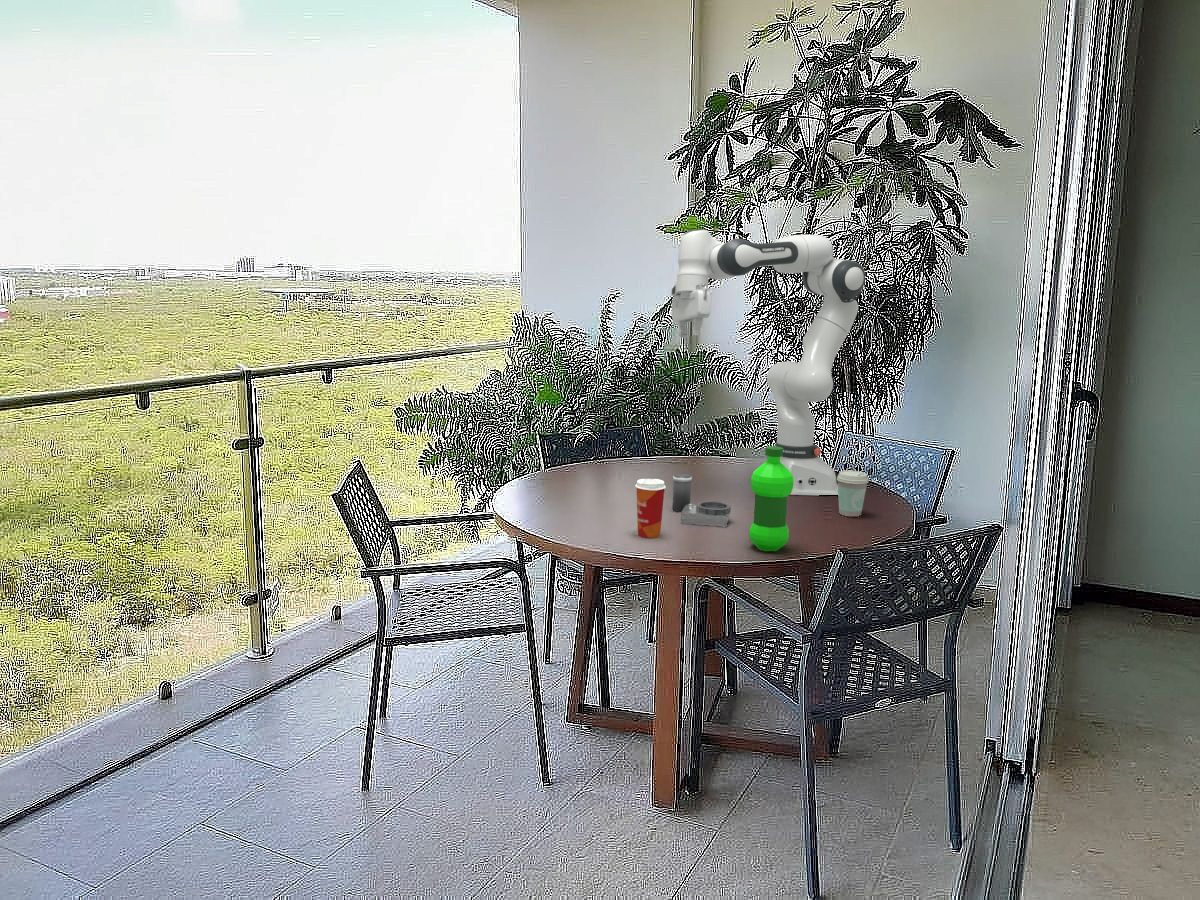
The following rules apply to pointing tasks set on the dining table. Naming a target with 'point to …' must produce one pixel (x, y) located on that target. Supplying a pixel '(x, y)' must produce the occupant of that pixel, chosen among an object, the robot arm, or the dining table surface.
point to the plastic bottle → (771, 502)
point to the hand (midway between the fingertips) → (689, 336)
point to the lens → (681, 491)
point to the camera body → (706, 513)
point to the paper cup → (649, 507)
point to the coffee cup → (851, 492)
